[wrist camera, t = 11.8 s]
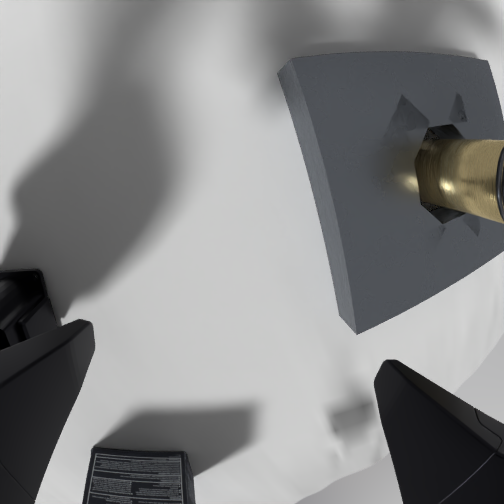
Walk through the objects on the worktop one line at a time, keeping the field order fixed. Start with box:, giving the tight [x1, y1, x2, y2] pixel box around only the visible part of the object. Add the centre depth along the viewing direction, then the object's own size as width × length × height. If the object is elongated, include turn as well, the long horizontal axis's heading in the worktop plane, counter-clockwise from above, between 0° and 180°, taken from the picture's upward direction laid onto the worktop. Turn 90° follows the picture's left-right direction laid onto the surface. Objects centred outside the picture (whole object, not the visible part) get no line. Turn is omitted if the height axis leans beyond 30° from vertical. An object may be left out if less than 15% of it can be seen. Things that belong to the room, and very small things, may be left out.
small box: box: [82, 447, 196, 504], centre depth 19 cm, size 11×6×10 cm, turn 90°
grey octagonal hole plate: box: [277, 52, 504, 335], centre depth 18 cm, size 20×18×3 cm
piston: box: [414, 139, 504, 224], centre depth 15 cm, size 5×5×10 cm
